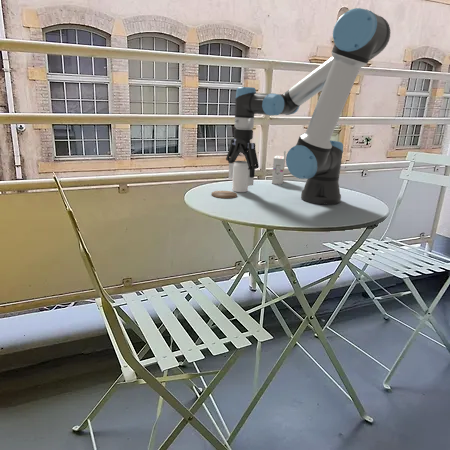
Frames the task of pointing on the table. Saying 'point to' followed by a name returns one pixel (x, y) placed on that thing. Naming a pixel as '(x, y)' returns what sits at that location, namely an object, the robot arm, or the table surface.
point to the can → (240, 176)
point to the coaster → (224, 194)
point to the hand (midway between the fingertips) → (240, 181)
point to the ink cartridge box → (278, 169)
